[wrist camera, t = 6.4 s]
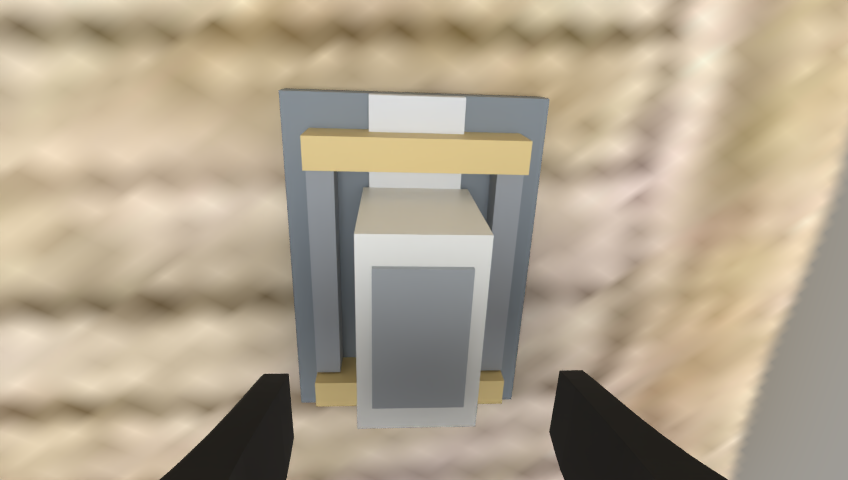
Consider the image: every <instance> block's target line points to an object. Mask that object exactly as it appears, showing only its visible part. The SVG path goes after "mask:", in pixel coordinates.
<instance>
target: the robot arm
mask: <svg viewBox="0 0 848 480" xmlns="http://www.w3.org/2000/svg"><path fill="white" fill-rule="evenodd" d="M549 432H550V436H551V439H552V443H553V447H554V450H555V454H556V457H557V460H558V464H559V467H560V470H561V472H562V475H563V477H564V480H728V479H726V478H724V477H723V476H721V475H720V474H718V473H717V472H715V471H713V470H712V469H710V468H709V467H707V466H706V465H704V464H703V463H701V462H700V461H698V460H697V459H695V458H694V457H692V456H691V455H689V454H688V453H686V452H685V451H684V450H682V449H681V448H680V447H678V446H677V445H675V444H674V443H673V442H671V441H670V440H669V439H667V438H666V437H664V436H663V435H662V434H660V433H659V432H658V431H657V430H655V429H654V428H653V427H651V426H650V425H649V424H647V423H646V422H645V421H644V420H642V419H641V418H640V417H639V416H637V415H636V414H635V413H634V412H632V411H631V410H630V409H629V408H628V407H626V406H625V405H624V404H623V403H622V402H620V401H619V400H618V399H617V398H616V397H614V396H613V395H612V394H611V393H610V392H608V391H607V390H606V389H605V388H604V387H602V386H601V385H600V384H599V383H598V382H596V381H595V380H594V379H593V378H592V377H590V376H589V375H588V374H586V373H585V372H584V371H583V370H571V371H560V372H559V378H558V384H557V390H556V396H555V402H554V408H553V414H552V420H551V425H550V431H549ZM293 439H294V433H293V421H292V409H291V397H290V385H289V374H263V375H262V376H261V377H260V378H259V379H258V380H257V382H256V383H255V384H254V385H253V386H252V387H251V388H250V390H249V391H248V392H247V393H246V394H245V395H244V396H243V398H242V399H241V400H240V401H239V402H238V403H237V404H236V405H235V406H234V408H233V409H232V410H231V411H230V412H229V413H228V414H227V415H226V416H225V417H224V418H223V419H222V420H221V421H220V423H219V424H218V425H217V426H216V427H215V428H214V429H213V430H212V431H211V432H210V433H209V434H208V435H207V436H206V437H205V438H204V439H203V440H202V441H201V442H200V443H199V444H198V445H197V446H196V447H195V448H194V449H193V450H192V451H191V452H190V453H188V454H187V455H186V456H185V457H184V458H183V459H182V460H181V461H180V462H179V463H178V464H177V465H176V466H175V467H174V468H172V469H171V470H170V471H169V472H168V473H167V474H166V475H164V476H163V477H162V478H161V479H160V480H286V478H287V473H288V468H289V462H290V457H291V451H292V445H293Z"/></svg>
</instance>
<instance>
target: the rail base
mask: <svg viewBox="0 0 848 480" xmlns="http://www.w3.org/2000/svg"><path fill="white" fill-rule="evenodd" d="M279 100H280V114H281V128H282V141H283V155H284V169H285V182H286V196H287V210H288V223H289V237H290V251H291V265H292V278H293V292H294V306H295V319H296V333H297V347H298V360H299V374H300V388H301V401H302V402H316V406H357V374H356V319H355V265H354V231H355V226H356V221H357V216H358V211H359V207H360V202H361V197H362V192H363V187H377V188H431V189H468V191H469V193H470V194H471V196H472V198H473V200H474V201H475V203H476V205H477V207H478V208H479V210H480V212H481V214H482V215H483V217H484V219H485V221H486V223H487V224H488V226H489V228H490V230H491V231H492V233H493V235H494V238H493V249H492V259H491V269H490V280H489V290H488V300H487V310H486V321H485V331H484V341H483V352H482V362H481V372H480V382H479V393H478V403H477V404H498V403H502V399H511V397H512V389H513V381H514V374H515V366H516V358H517V350H518V342H519V334H520V326H521V319H522V311H523V303H524V295H525V287H526V279H527V272H528V264H529V256H530V248H531V240H532V232H533V224H534V217H535V209H536V201H537V193H538V185H539V177H540V170H541V162H542V154H543V146H544V138H545V130H546V122H547V115H548V107H549V99H548V98H544V97H533V96H502V95H471V94H440V93H409V92H378V91H347V90H316V89H281V90H279Z"/></svg>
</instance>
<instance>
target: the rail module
mask: <svg viewBox="0 0 848 480" xmlns="http://www.w3.org/2000/svg"><path fill="white" fill-rule="evenodd" d="M493 238H494V235H493V233H492V231H491V230H490V228H489V226H488V224H487V223H486V221H485V219H484V217H483V215H482V214H481V212H480V210H479V208H478V207H477V205H476V203H475V201H474V200H473V198H472V196H471V194H470V193H469V191H468V189H431V188H377V187H363V192H362V197H361V202H360V207H359V211H358V216H357V221H356V226H355V231H354V265H355V319H356V374H357V428H358V429H364V428H416V427H469V426H475V424H476V413H477V403H478V393H479V382H480V372H481V362H482V352H483V341H484V331H485V321H486V310H487V300H488V290H489V280H490V269H491V259H492V249H493Z"/></svg>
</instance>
